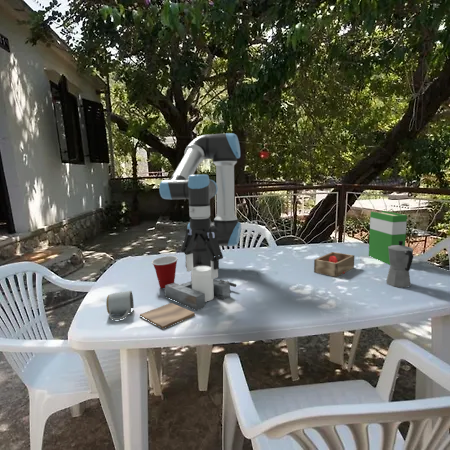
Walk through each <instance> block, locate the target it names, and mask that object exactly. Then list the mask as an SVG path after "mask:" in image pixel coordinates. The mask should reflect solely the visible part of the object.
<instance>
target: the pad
mask: <svg viewBox="0 0 450 450" xmlns="http://www.w3.org/2000/svg"><path fill="white" fill-rule="evenodd" d="M140 316H142V317H144V318H145V319H147V320H149V321H150V322H152V323H154V324H156V325H157V326H160V327H161V328H165V327H167V328H169V327H168V326H170V327H171V325H172V326H174V325H176V324H175V323H177V322H179V323H181V322H183V321H186V320H188V319H190V318H192V316H193V317H194V316H196V313H195V311H192V310H189V309H188V308H185V307H182V306H180V305H177V304H176V303H173V302H170V303H167V304H164V305H161V306H159V307H157V308H154V309H151V310H149V311H146V312H143V313H141V314H139V317H140ZM187 318H188V319H187ZM185 319H186V320H185ZM182 320H183V321H182ZM180 321H181V322H180ZM150 322H149V323H150ZM152 323H151V324H152ZM154 324H153V325H154ZM173 324H174V325H173ZM177 324H178V323H177ZM157 326H156V327H157ZM161 328H160V329H161ZM165 329H166V328H165Z"/></svg>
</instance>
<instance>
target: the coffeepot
mask: <svg viewBox="0 0 450 450" xmlns="http://www.w3.org/2000/svg"><path fill="white" fill-rule="evenodd" d="M402 244H403V241H399V245H391V246H388V250H389V261H390V265H389V269H388V273H387V276H386V284H387V285H388V286H391V287H394V288H401V287H404V288H409V287H411V276H410V269H411V266H412V263H413V260H414V254H413V253H414V249H413V247H411V246H408V245H405V246H403V245H402ZM408 286H409V287H408Z"/></svg>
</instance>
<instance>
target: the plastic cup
mask: <svg viewBox="0 0 450 450" xmlns="http://www.w3.org/2000/svg"><path fill="white" fill-rule="evenodd" d="M177 262H178V256H175V255H174V256H172V255H169V256H168V255H166V256H161V257H156V258H155V259H152V261H151V264H152V265H153V268H154V269H155V272H156V277H157V280H158V285H159V287H161V288H160V289H162V288H165V285H168V284H171V283H175V279H176V271H177Z"/></svg>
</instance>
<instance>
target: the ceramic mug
mask: <svg viewBox="0 0 450 450" xmlns="http://www.w3.org/2000/svg"><path fill="white" fill-rule="evenodd" d="M105 304H106V311H107V314H109V318H110V320H111V319H113V320H120V319H123V318H125V317H126V318H127V317H128V315H129V314H128V313H132V312H131V308H134V305H135V304H134V296H133V291H132V290H126V291H119V292H115V293H110V294H108V295H107V297H106V303H105ZM112 314H120V315H122V316H121V317H114V316H113V315H112ZM132 314H133V313H132ZM126 318H125V319H126Z"/></svg>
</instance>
